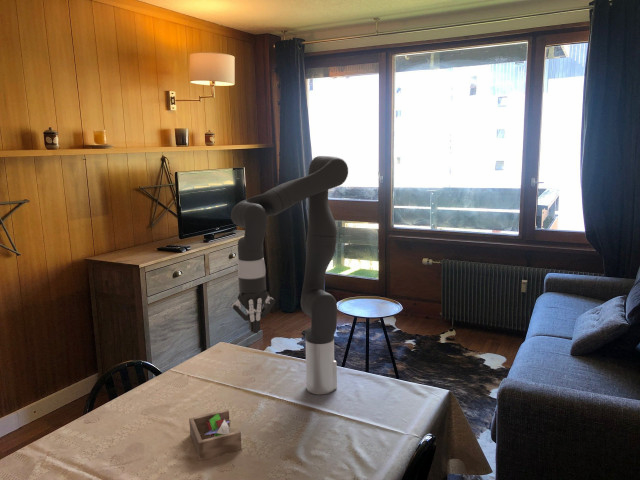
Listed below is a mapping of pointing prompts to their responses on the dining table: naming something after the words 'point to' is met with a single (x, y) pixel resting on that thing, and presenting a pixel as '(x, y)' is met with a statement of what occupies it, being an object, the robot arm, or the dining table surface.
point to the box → (214, 444)
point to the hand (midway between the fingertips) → (254, 332)
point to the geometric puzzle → (217, 426)
